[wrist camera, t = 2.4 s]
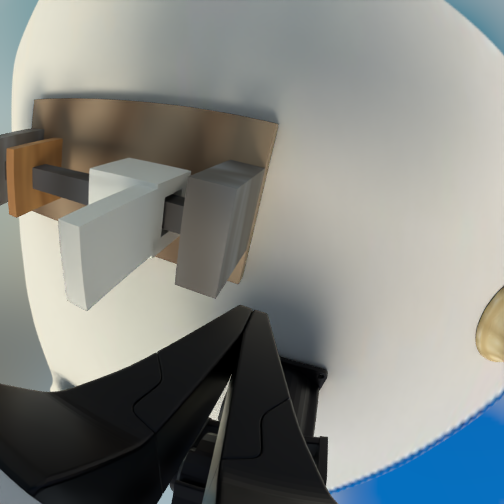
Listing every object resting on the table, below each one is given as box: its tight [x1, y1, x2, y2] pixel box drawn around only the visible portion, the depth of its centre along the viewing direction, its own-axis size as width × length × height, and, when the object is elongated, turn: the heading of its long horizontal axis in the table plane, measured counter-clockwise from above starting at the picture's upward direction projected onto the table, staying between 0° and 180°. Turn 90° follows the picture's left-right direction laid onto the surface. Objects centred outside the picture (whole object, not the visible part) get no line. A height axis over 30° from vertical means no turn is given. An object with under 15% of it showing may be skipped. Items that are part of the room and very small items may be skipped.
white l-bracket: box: [58, 158, 191, 311], centre depth 12 cm, size 4×4×8 cm
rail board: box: [0, 98, 279, 299], centre depth 16 cm, size 20×10×7 cm, turn 78°
